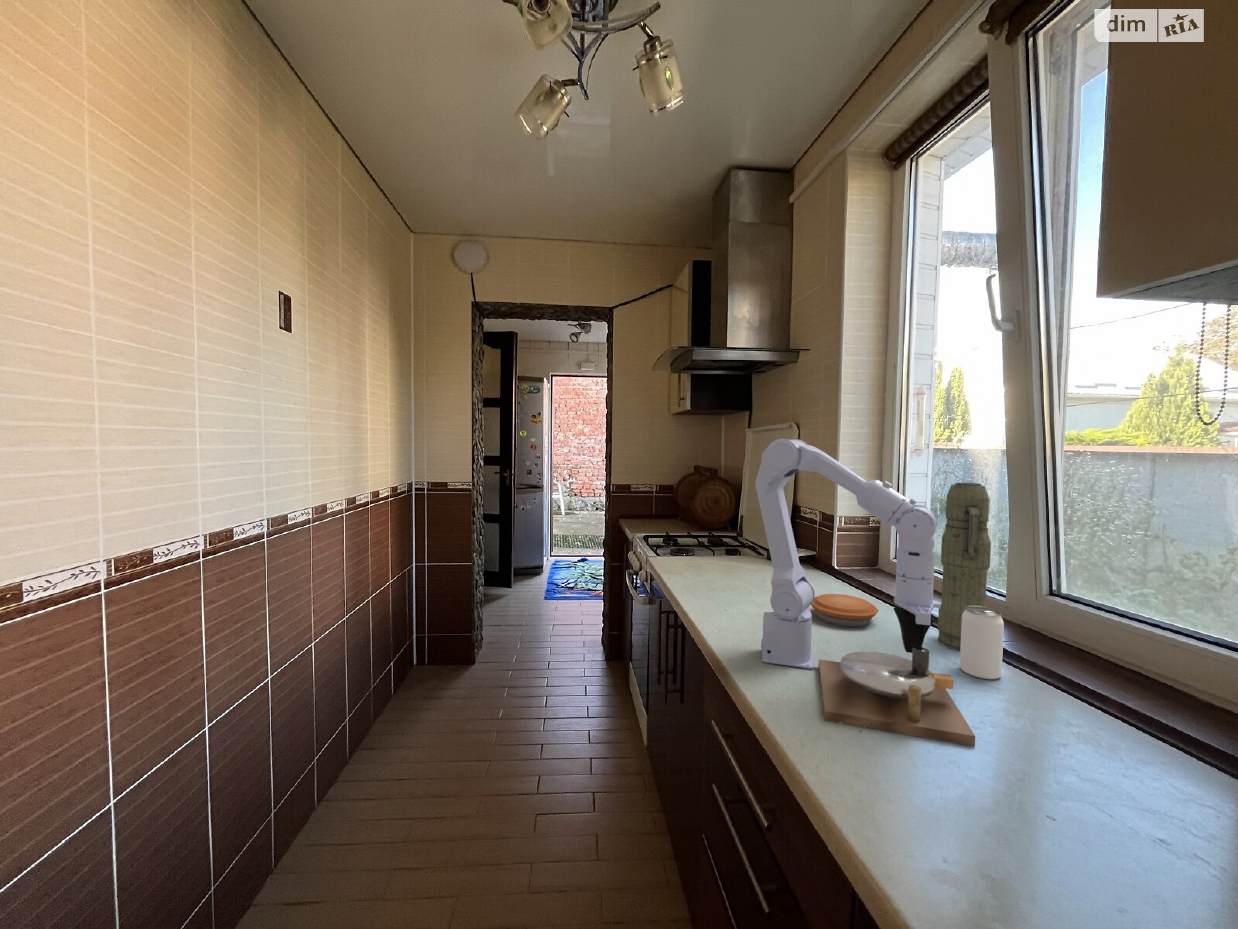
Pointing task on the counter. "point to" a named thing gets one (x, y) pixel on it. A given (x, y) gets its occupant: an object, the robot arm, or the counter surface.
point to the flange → (893, 673)
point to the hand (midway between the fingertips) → (911, 651)
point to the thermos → (963, 558)
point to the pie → (844, 610)
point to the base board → (892, 709)
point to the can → (981, 642)
